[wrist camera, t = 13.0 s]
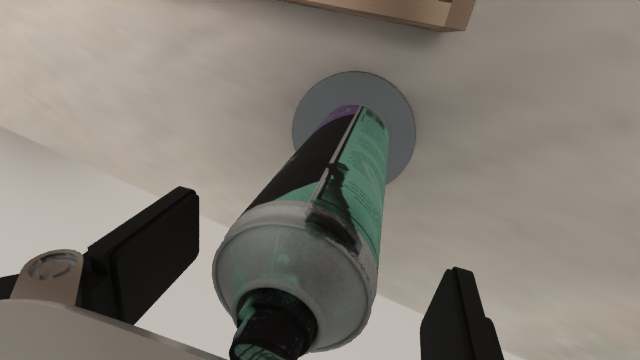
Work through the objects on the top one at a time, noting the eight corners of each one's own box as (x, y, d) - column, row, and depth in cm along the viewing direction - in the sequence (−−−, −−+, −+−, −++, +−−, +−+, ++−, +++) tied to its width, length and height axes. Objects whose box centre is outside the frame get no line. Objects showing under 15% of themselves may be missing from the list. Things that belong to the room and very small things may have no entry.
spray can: (325, 97, 25) (146, 251, 7) (395, 108, 24) (390, 312, 6) (318, 162, 27) (170, 397, 10) (381, 173, 26) (350, 456, 9)
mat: (386, 47, 23) (386, 48, 23) (432, 165, 26) (434, 169, 25) (275, 104, 27) (271, 106, 26) (326, 201, 30) (324, 207, 29)
